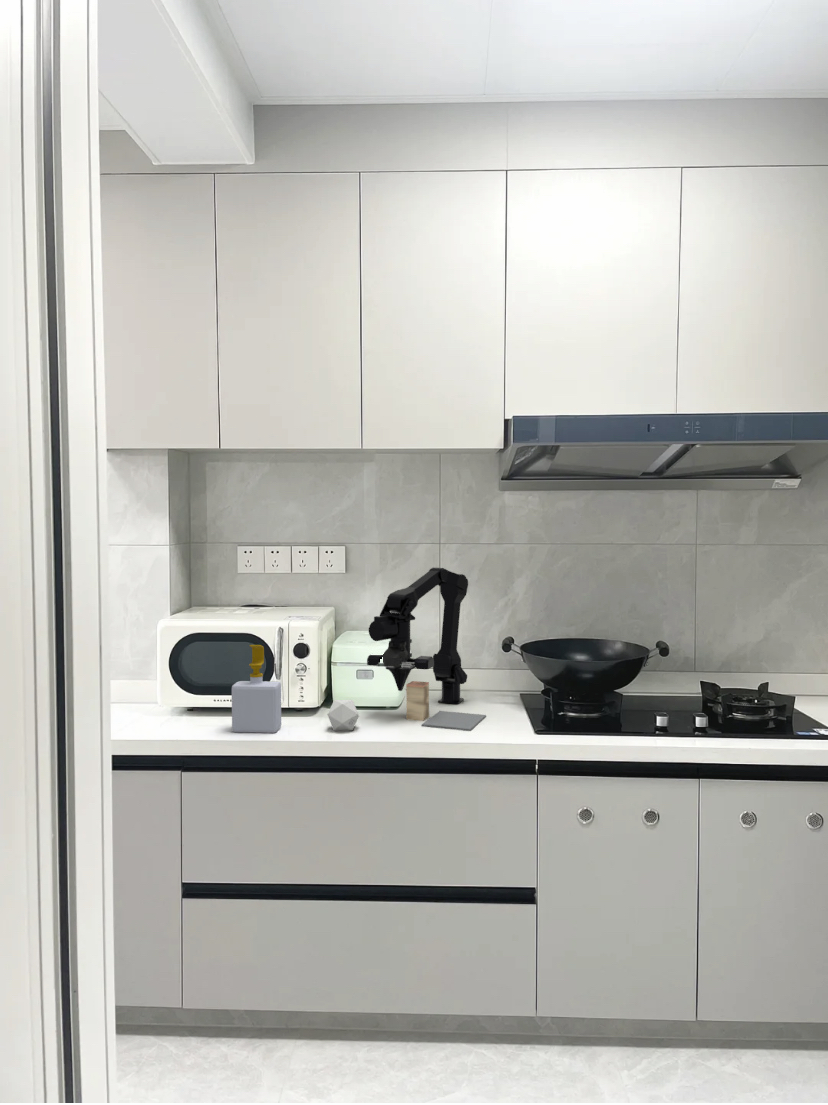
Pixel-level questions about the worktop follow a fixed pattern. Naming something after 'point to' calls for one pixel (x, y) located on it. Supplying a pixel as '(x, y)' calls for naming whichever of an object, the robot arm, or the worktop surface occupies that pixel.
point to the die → (343, 715)
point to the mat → (454, 720)
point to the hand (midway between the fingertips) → (400, 690)
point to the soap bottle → (256, 700)
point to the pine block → (417, 700)
